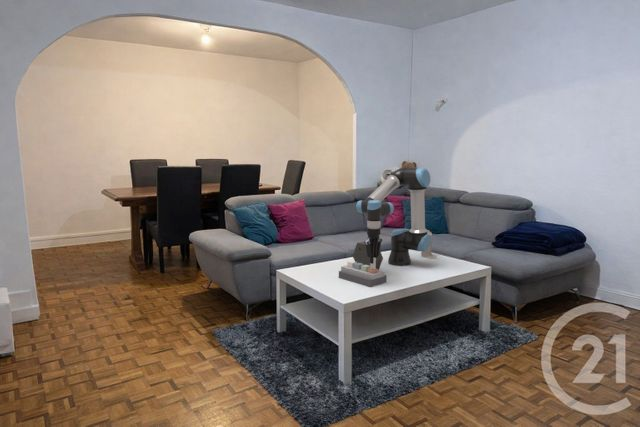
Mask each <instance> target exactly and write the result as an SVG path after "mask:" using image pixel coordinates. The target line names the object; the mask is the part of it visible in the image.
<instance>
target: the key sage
mask: <svg viewBox="0 0 640 427" xmlns="http://www.w3.org/2000/svg"><path fill="white" fill-rule="evenodd" d="M368 269H370V266H369V265H362V266H361V270H362V271H365V272H367V271H368Z"/></svg>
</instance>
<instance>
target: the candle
mask: <svg viewBox="0 0 640 427" xmlns="http://www.w3.org/2000/svg"><path fill="white" fill-rule="evenodd" d="M427 234H429V235H430V236H431V244H430V246H429V248H428V250H426V251H424V252H422V251H420V255H421V256H420V257H422V256H423V258H426V257H428V259H432V258H437V257H438V256H435V255H432V247H433V234H432V231H430V230H428V229H427Z"/></svg>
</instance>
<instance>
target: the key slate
mask: <svg viewBox="0 0 640 427" xmlns="http://www.w3.org/2000/svg"><path fill="white" fill-rule="evenodd" d="M362 265H364V264H362V263H356V264H354V269H358V270H360V269H361V266H362Z"/></svg>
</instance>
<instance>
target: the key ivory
mask: <svg viewBox="0 0 640 427" xmlns="http://www.w3.org/2000/svg"><path fill="white" fill-rule="evenodd" d="M356 263H357V262H355V261H354V260H350V261H347V264H346V265H347V267H351V268H354V264H356Z"/></svg>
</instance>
